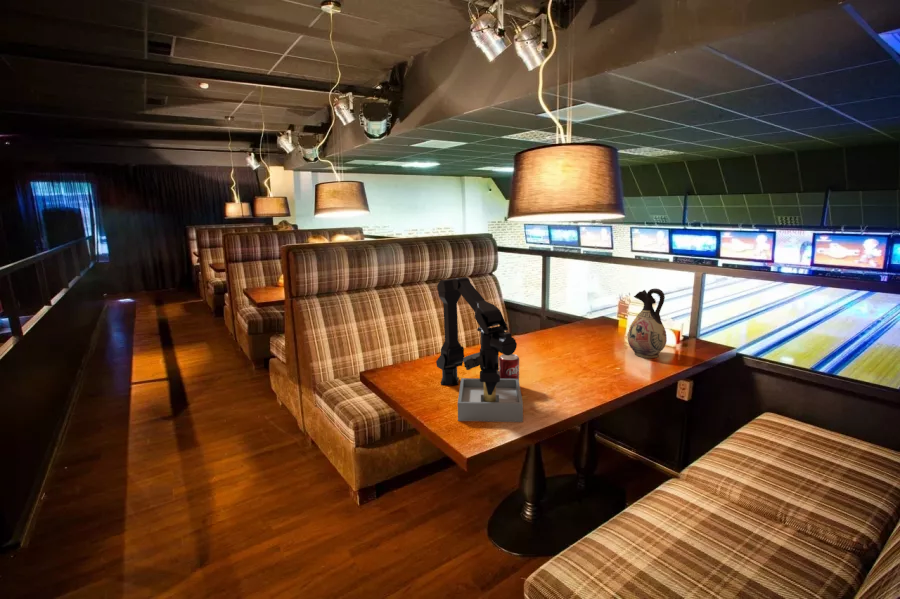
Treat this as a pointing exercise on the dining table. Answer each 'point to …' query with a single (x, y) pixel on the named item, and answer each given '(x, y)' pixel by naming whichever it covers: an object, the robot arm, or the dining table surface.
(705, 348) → the dining table surface
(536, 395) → the dining table surface
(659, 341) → the ceramic jug
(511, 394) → the slate box
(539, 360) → the dining table surface
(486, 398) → the yellow peg
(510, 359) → the soda can
